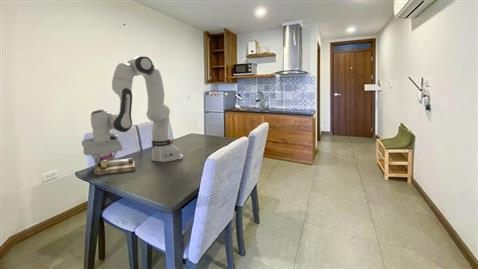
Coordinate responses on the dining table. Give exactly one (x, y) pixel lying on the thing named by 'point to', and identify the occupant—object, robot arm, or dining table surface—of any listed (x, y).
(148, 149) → the dining table surface
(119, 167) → the tong rest
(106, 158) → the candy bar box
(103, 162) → the brass pin
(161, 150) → the robot arm
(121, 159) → the tong frame
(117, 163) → the tong arm
